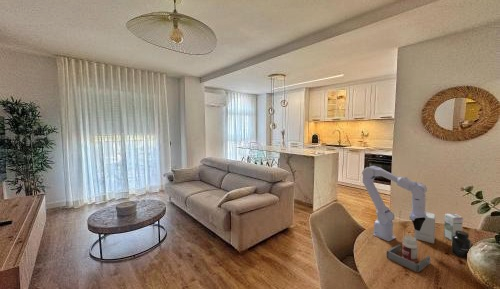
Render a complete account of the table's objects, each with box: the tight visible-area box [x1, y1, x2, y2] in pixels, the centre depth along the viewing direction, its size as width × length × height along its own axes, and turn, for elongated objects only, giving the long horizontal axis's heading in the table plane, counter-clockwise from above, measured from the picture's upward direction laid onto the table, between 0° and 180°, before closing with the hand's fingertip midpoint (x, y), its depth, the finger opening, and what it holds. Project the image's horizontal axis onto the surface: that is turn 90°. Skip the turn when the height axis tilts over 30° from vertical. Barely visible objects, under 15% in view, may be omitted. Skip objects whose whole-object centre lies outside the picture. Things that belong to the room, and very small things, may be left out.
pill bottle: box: [401, 235, 419, 264], centre depth 106 cm, size 6×6×11 cm
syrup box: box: [443, 212, 464, 241], centre depth 125 cm, size 6×6×14 cm
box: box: [386, 243, 431, 274], centre depth 106 cm, size 14×13×4 cm
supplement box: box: [414, 211, 436, 244], centre depth 126 cm, size 9×9×15 cm
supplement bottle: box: [451, 230, 472, 259], centre depth 109 cm, size 7×7×12 cm
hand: (417, 229), depth 116 cm, fingers closed
